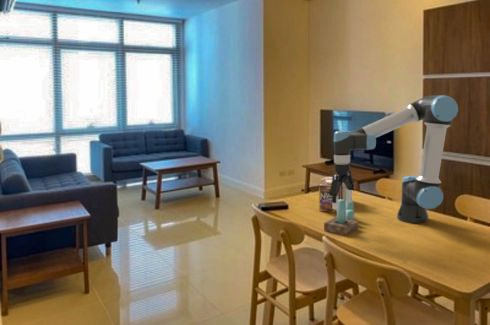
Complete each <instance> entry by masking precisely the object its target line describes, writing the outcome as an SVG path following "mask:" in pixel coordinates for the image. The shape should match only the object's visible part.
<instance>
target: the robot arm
mask: <svg viewBox="0 0 490 325" xmlns="http://www.w3.org/2000/svg"><path fill="white" fill-rule="evenodd" d="M458 106H459V105H458V103H457V101H456V100H455V99H454V98H453V97H451V96H449V95H444V94H441V95H440V94H438V95H434V94H432V95H426V96H424V97H422V98H420V99H418V100H416V101H413V102H411V103H409V104H408V105H407V107H405V108H403V109H401V110H399V111H396V112H393V113H392V114H389V115H387V116H385V117H383V118H381V119H378V120H376V121H374V122H372V123H369V124H367V125H365V126H363V127H360V128H359V129H356V130H351V131H349V130H336V131H334V132H333V163H334V164H333V170H334V172H336V173H335V174H336V175H335V174H332V177H333V180H332V184H331V189H330V193H329V195H330V196H332V209H336V211H337V210H338V196H337V194H338V191H339V189H340V186H341V184H342V183H343V182H344V184H345V185H346V187H347V190H346V202H348V203H352V200H353V197H352V196H353V190H355V184H354V180H353V176H352V170H351V151H369V150H374V149H375V148H376V145H377V138H379V137H381V136H383V135H385V134H388V133H389V132H392V131H395V130H396V129H399V128H401V127H404V126H406V125H408V124H410V123H413V122H414V123H418V122H419V121H422V120H424V122H423V123H424V125H426V132H425V138H424V144H423V149H422V156H421V163H420V169H419V174H418V175H405V176H403V177H402V180H401V204H400V207H399V208H398V211H397V216H396V218H397V219H398V220H399V221H401V222H405V223H408V224H409V223H410V224H424V223H427V222H428V221H429V213H428V210H433V209H436V208H437V207H438V206H440V205H441V203H443V200H444V193H443V190H442V189H441V186H442V181H441V180H440V178H439V176H440V170H441V164H442V159H443V152H444V146H445V141H446V134H447V130H448V128H450V127H451V126H452V122H453V121H452V120H453V119H454V118H456V117H457V114H458V112H459V107H458Z"/></svg>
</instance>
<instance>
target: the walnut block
mask: <svg viewBox="0 0 490 325" xmlns="http://www.w3.org/2000/svg"><path fill="white" fill-rule="evenodd" d="M358 229H359V221H357V220H355V219H354V220H349V219H346V218H345V224H339V223H337V216H335V217H333V218H331V219H329V220H327V221H325V222H324V223H323V231H324V232H329V233H333V234H337V235H341V236H348V235H350V234H352V233H353V232H356V231H357V230H358Z"/></svg>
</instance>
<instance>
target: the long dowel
mask: <svg viewBox="0 0 490 325" xmlns="http://www.w3.org/2000/svg"><path fill="white" fill-rule="evenodd" d="M336 217H337V223H339V224H345V219H346V200H343V199H339V200H338V210H336Z"/></svg>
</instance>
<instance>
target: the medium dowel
mask: <svg viewBox="0 0 490 325" xmlns="http://www.w3.org/2000/svg"><path fill="white" fill-rule="evenodd" d="M354 203H355V201H354V200H353V199H352V203H348V202H346V208H345V211H346V210H354V209H355V208H354Z"/></svg>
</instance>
